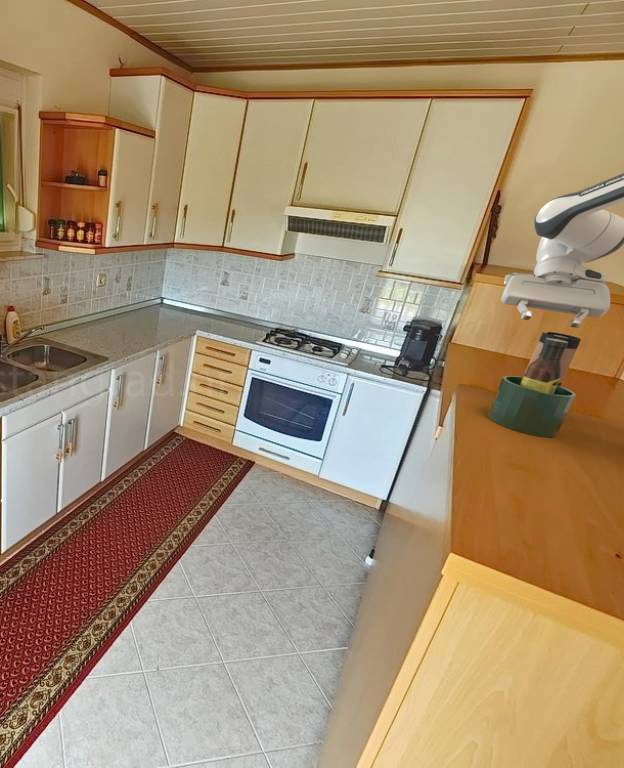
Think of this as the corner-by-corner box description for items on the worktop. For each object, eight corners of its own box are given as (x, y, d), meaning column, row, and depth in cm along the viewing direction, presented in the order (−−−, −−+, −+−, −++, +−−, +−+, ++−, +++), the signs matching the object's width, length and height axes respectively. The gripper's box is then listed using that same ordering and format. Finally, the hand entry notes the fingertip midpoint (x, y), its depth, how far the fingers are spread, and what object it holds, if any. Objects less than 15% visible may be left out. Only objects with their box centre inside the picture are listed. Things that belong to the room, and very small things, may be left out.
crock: (548, 424, 119) (566, 385, 115) (564, 443, 108) (584, 401, 104) (483, 408, 124) (498, 372, 121) (492, 425, 113) (509, 385, 110)
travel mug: (553, 416, 124) (588, 341, 117) (518, 409, 127) (550, 335, 120) (540, 407, 131) (572, 335, 124) (507, 400, 133) (537, 329, 126)
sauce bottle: (542, 429, 111) (580, 346, 105) (508, 421, 114) (543, 339, 107) (536, 420, 117) (572, 340, 110) (504, 413, 120) (537, 334, 113)
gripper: (510, 263, 124) (503, 306, 119) (616, 275, 115) (612, 322, 110) (500, 279, 129) (493, 321, 124) (601, 292, 120) (597, 338, 115)
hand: (550, 322), depth 117 cm, fingers open, 8 cm apart
